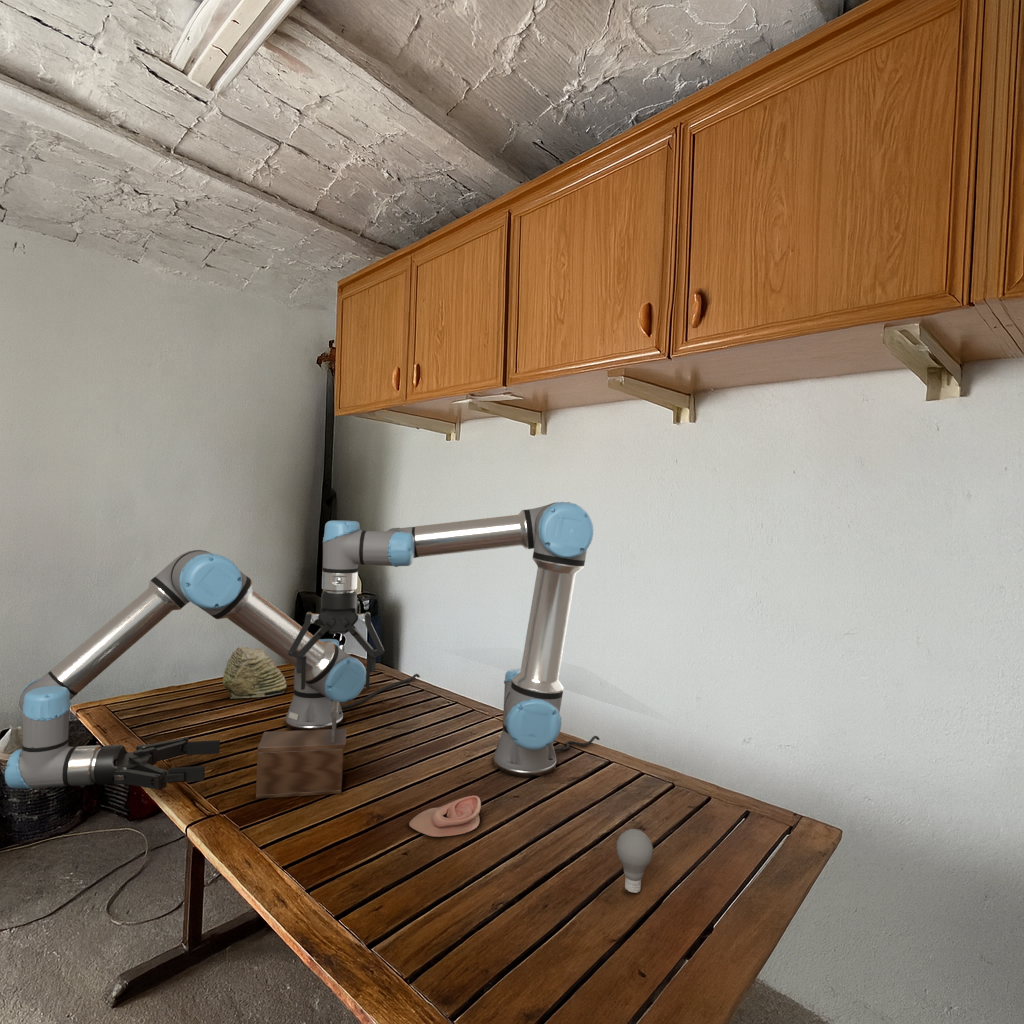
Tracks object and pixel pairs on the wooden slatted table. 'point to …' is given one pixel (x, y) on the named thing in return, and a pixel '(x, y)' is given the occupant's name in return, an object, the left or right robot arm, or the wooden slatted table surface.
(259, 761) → the chest
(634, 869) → the light bulb
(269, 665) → the fossil
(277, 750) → the lid
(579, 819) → the wooden slatted table surface
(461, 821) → the anatomical model
